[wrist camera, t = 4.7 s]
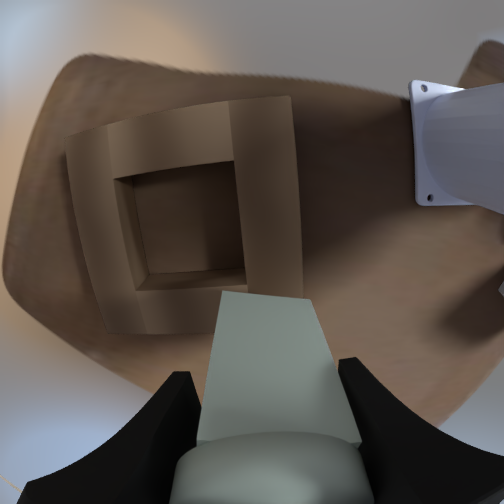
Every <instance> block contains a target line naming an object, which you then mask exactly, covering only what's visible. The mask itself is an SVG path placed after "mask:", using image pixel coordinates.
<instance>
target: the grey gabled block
mask: <svg viewBox="0 0 504 504" xmlns="http://www.w3.org/2000/svg"><path fill="white" fill-rule="evenodd" d="M498 291H499V292H500V293H501V294H502V295H503V296H504V281H503V283H502V284H501V286H500V288H499V289H498Z"/></svg>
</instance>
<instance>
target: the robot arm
mask: <svg viewBox="0 0 504 504" xmlns="http://www.w3.org/2000/svg"><path fill="white" fill-rule="evenodd" d="M421 86H423V87H424V89H425V91H424V92H423V91H422V90H421ZM409 95H410V103H411V112H412V123H413V136H414V153H415V199H416V202H417V203H418V204H419V205H421V206H441V205H478V206H481V207H484V208H487V209H490V210H492V211H495V212H498V213H500V214H503V215H504V83H499V84H493V85H487V86H482V87H476V88H471V89H461V88H457V87H452V86H447V85H443V84H437V83H432V82H426V81H420V80H413V81H411V82H410V83H409ZM429 194H430V196H431V198H430V200H429V201H428V200H427V197H428V195H429ZM338 374H339V377H340V380H341V383H342V385H343V388H344V391H345V394H346V396H347V399H348V402H349V405H350V408H351V411H352V414H353V416H354V419H355V422H356V425H357V428H358V431H359V434H360V437H361V440H362V443H361V444H360V446H359V447H358V450H359V452H360V454H361V457H362V460H363V463H364V466H365V470H366V473H367V476H368V479H369V483H370V486H371V490H372V493H373V496H374V504H499V503H500V502H501V501H502V500H503V499H504V456H501V455H497V454H494V453H490V452H487V451H483V450H481V449H478V448H476V447H473V446H471V445H468V444H466V443H464V442H462V441H459V440H458V439H456V438H453V437H452V436H450V435H448V434H446V433H444V432H442V431H440V430H439V429H437V428H436V427H434V426H432V425H431V424H429V423H428V422H426V421H425V420H424V419H422V418H421V417H419V416H418V415H417V414H415V413H414V412H413V411H411V410H410V409H409V408H408V407H407V406H405V405H404V404H403V403H402V402H401V401H400V400H398V399H397V398H396V397H395V396H394V395H393V394H392V393H391V392H390V391H389V390H388V389H387V388H385V387H384V386H383V385H382V384H381V383H380V382H379V381H378V380H377V379H376V378H375V377H374V375H373V374H372V373H371V372H370V371H369V370H368V369H367V368H366V367H365V366H364V365H363V364H362V363H361V361H360V360H359V359H358V358H356V357H353V358H346V359H340V360H339V365H338ZM201 409H202V407H201V404H200V401H199V398H198V395H197V392H196V389H195V386H194V383H193V380H192V377H191V373H190V371H174V372H173V373H172V374H171V375H170V376H169V377H168V379H167V380H166V381H165V382H164V383H163V385H162V386H161V387H160V388H159V389H158V390H157V392H156V393H155V394H154V395H153V396H152V397H151V399H150V400H149V401H148V402H147V403H146V404H145V405H144V407H142V409H141V410H140V411H139V412H138V413H137V414H136V415H135V416H134V417H133V418H132V419H131V420H130V421H129V422H128V423H127V424H126V425H125V426H124V427H123V428H122V429H121V430H119V431H118V432H117V433H116V434H115V435H114V436H113V437H111V438H110V439H109V440H107V441H106V442H105V443H104V444H102V445H101V446H100V447H98V448H97V449H95V450H94V451H92V452H91V453H89V454H88V455H86V456H84V457H83V458H82V459H80V460H78V461H76V462H74V463H73V464H71V465H69V466H67V467H65V468H63V469H61V470H58V471H56V472H54V473H52V474H50V475H46V476H44V477H41V478H38V479H35V480H32V481H29V482H27V484H26V486H25V487H24V489H23V491H22V493H21V495H20V498H19V499H18V502H17V504H169V501H170V496H171V490H172V485H173V479H174V474H175V469H176V465H177V462H178V461H179V459H180V458H181V457H182V456H183V455H184V454H185V453H186V452H188V451H190V450H191V449H193V448H195V447H197V434H198V428H199V421H200V415H201Z"/></svg>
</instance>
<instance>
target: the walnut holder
mask: <svg viewBox="0 0 504 504" xmlns="http://www.w3.org/2000/svg"><path fill="white" fill-rule="evenodd" d="M64 139H65V149H66V159H67V167H68V175H69V182H70V189H71V195H72V201H73V207H74V212H75V217H76V222H77V227H78V232H79V236H80V241H81V245H82V249H83V254H84V258H85V262H86V265H87V269H88V273H89V276H90V280H91V284H92V287H93V290H94V294H95V297H96V300H97V303H98V306H99V310H100V313H101V316H102V319H103V321H104V324H105V327H106V330H107V333H108V334H207V333H215V328H216V323H217V317H218V312H219V306H220V301H221V296H222V290H223V291H231V292H240V293H249V294H259V295H269V296H279V297H289V298H300V299H304V291H303V260H302V236H301V217H300V200H299V185H298V171H297V158H296V146H295V135H294V124H293V114H292V104H291V96H274V97H260V98H249V99H239V100H230V101H222V102H214V103H207V104H200V105H194V106H188V107H182V108H177V109H171V110H166V111H161V112H156V113H152V114H147V115H143V116H138V117H134V118H130V119H126V120H122V121H118V122H115V123H111V124H107V125H104V126H100V127H97V128H93V129H90V130H87V131H84V132H81V133H77V134H74V135H71V136H68V137H65V138H64ZM232 160H234V166H235V176H236V186H237V195H238V205H239V214H240V224H241V233H242V242H243V252H244V261H245V268H234V269H221V270H208V271H194V272H180V273H165V274H150V275H149V271H148V266H147V262H146V257H145V252H144V247H143V242H142V237H141V232H140V226H139V221H138V215H137V209H136V203H135V196H134V190H133V183H132V176H131V175H135V174H141V173H146V172H152V171H158V170H164V169H171V168H177V167H184V166H191V165H199V164H206V163H215V162H223V161H232Z"/></svg>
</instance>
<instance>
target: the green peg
mask: <svg viewBox="0 0 504 504" xmlns="http://www.w3.org/2000/svg"><path fill="white" fill-rule="evenodd" d="M361 443H362V440H361V437H360V434H359V431H358V428H357V425H356V422H355V419H354V416H353V414H352V411H351V408H350V405H349V402H348V399H347V396H346V394H345V391H344V388H343V385H342V383H341V380H340V377H339V374H338V372H337V369H336V366H335V363H334V361H333V358H332V355H331V353H330V350H329V347H328V345H327V342H326V339H325V337H324V334H323V331H322V329H321V326H320V324H319V321H318V318H317V316H316V313H315V311H314V308H313V306H312V303H311V300H310V299H300V298H289V297H279V296H269V295H259V294H249V293H240V292H231V291H223V290H222V296H221V301H220V306H219V312H218V317H217V323H216V328H215V334H214V339H213V345H212V351H211V356H210V362H209V368H208V373H207V379H206V385H205V391H204V397H203V403H202V409H201V415H200V421H199V428H198V434H197V447H195V448H193V449H191V450H190V451H188V452H186V453H185V454H184V455H183V456H182V457H181V458H180V459H179V461H178V462H177V465H176V469H175V474H174V479H173V485H172V490H171V496H170V501H169V504H374V496H373V493H372V490H371V486H370V483H369V479H368V476H367V473H366V470H365V466H364V463H363V460H362V457H361V454H360V452H359V450H358V447H359V446H360V444H361Z"/></svg>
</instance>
